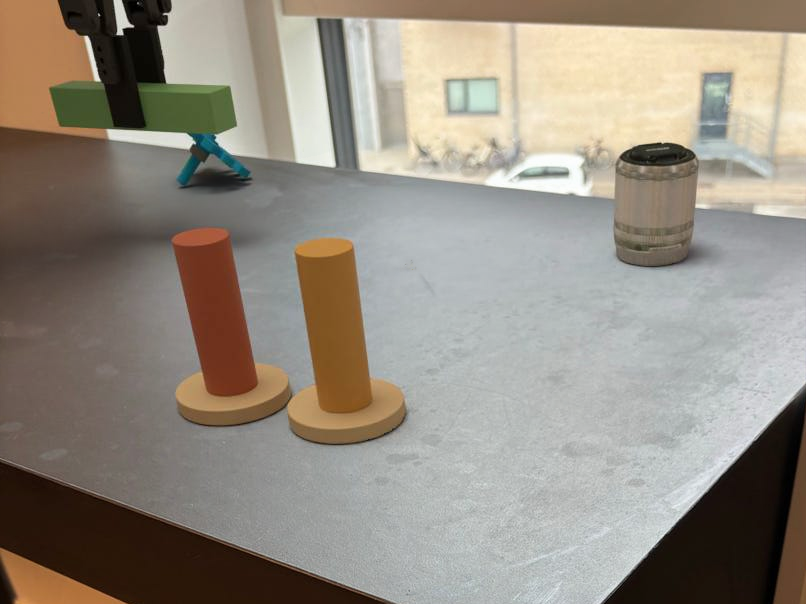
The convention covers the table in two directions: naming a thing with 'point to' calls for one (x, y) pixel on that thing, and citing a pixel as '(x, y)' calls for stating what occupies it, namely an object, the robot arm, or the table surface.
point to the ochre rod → (338, 353)
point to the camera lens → (655, 203)
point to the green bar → (149, 107)
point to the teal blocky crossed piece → (201, 153)
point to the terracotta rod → (221, 338)
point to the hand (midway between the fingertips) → (143, 121)
